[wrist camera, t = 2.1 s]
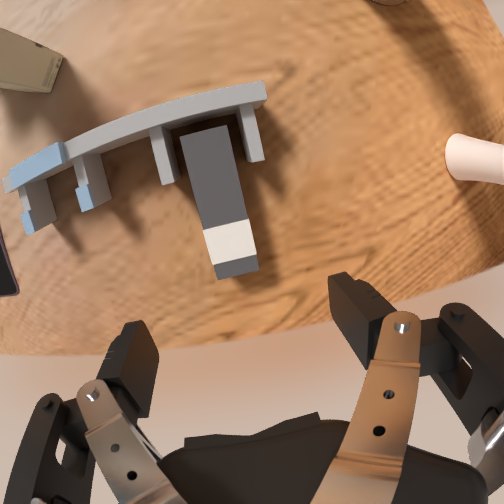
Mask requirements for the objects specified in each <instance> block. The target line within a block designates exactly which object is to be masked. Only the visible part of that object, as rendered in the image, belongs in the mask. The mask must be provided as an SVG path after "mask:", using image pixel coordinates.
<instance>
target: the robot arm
mask: <svg viewBox="0 0 504 504" xmlns="http://www.w3.org/2000/svg"><path fill="white" fill-rule="evenodd" d="M373 1H375V2H377V3H380V4H384V5H397V4H400V3H402V2H403V1H408V2H410V1H411V0H373ZM328 290H329V302H330V310H331V314H332V317H333V320H334V321H335V323H336V324H337V326H338V327H339V329H340V331H341V332H342V334H343V335H344V337H345V338H346V340H347V341H348V343H349V344H350V346H351V348H352V349H353V351H354V352H355V354H356V355H357V357H358V358H359V360H360V362H361V363H362V365H363V366H364V368H365V370H368V371H367V374H366V378H365V381H364V384H363V387H362V391H361V393H360V396H359V399H358V402H357V405H356V408H355V411H354V413H353V416H352V419H351V421H350V422H348V421H343V420H320V417H319V415H318V412H314V413H311V414H308V415H304V416H301V417H297V418H293V419H290V420H285V421H283V422H281V423H279V424H277V425H274V426H273V427H270V428H268V429H266V430H263V431H261V432H259V433H256V434H254V435H250V436H240V435H220V434H214V435H206V436H198V437H187V438H185V440H184V447H183V448H180V449H178V450H175V451H173V452H171V453H170V454H168V455H166V456H165V457H162V456H161V455H160V453H159V452H158V451H157V450H156V448H155V447H154V446H153V444H152V443H151V442H150V440H149V439H148V438H147V436H146V435H145V434H144V432H143V431H142V430H141V428H140V427H139V426H138V425H137V419H138V418H148V417H149V411H150V405H151V399H152V394H153V389H154V384H155V378H156V373H157V368H158V363H159V353H158V350H157V347H156V345H155V343H154V341H153V339H152V337H151V335H150V333H149V331H148V329H147V327H146V325H145V323H144V322H143V321H142V320H139V321H134V322H128V323H126V324H125V325H124V327H123V330H122V332H121V334H120V335H119V336H117V337H116V338H115V340H114V341H113V342H112V343H111V345H110V347H109V349H108V353H107V354H106V356H105V359H104V361H103V363H102V365H101V368H100V370H99V373H98V375H97V378H96V380H92V381H89V382H87V383H85V384H84V385H83V386H82V387H81V388H80V389H79V391H78V393H77V396H76V398H74V399H71V400H68V401H63V400H62V399H61V398H60V397H59V395H57V394H55V393H50V394H47V395H45V396H44V397H42V398H41V399H40V400H39V401H38V403H37V405H36V406H35V409H34V411H33V414H32V416H31V418H30V421H29V423H28V426H27V428H26V431H25V433H24V436H23V439H22V441H21V444H20V447H19V450H18V453H17V456H16V459H15V462H14V465H13V468H12V472H11V475H10V479H9V482H8V486H7V490H6V494H5V498H4V503H3V504H90V497H91V489H92V481H93V475H94V468H95V462H96V461H97V464H98V466H99V468H100V469H101V472H102V473H103V475H104V477H105V479H106V481H107V483H108V485H109V486H110V488H111V490H112V492H113V493H114V495H115V497H116V498H117V500H118V502H119V503H118V504H488V496H489V495H491V494H492V493H493V492H494V491H496V490H497V489H498V488H499V487H501V486H502V485H503V484H504V338H502V337H501V335H499V334H498V333H497V332H496V331H495V330H494V329H493V328H492V327H491V326H490V325H489V324H488V323H487V322H486V321H484V320H483V319H482V318H481V317H480V316H479V315H478V314H477V313H476V312H474V311H473V310H472V309H471V308H470V307H468V306H467V305H465V304H462V303H449V304H446V305H444V306H443V307H442V308H441V311H440V316H439V318H432V319H426V320H420V319H419V318H418V316H417V315H415V314H413V313H411V312H407V311H397V310H396V309H395V308H394V307H393V306H392V305H391V304H390V303H389V302H388V301H387V300H386V299H385V298H384V297H383V296H381V294H380V293H379V292H378V291H376V290H375V288H374V287H373V286H371V285H370V284H369V283H367V282H365V281H362V280H360V279H358V280H354V279H353V278H352V277H351V276H350V275H349V274H348V273H347V272H341V273H338V274H334V275H331V276H328ZM462 356H463V357H464V358H465V359H466V361H467V362H468V363H469V364H470V365H471V368H472V369H471V368H470V367H469V366H468V365H467V363H466V362H465V361H464V360H463V359H462ZM427 375H430V376H431V377H432V378H433V380H434V381H435V382H436V384H437V385H438V387H439V389H440V390H441V391H442V393H443V394H444V396H445V397H446V398H447V400H448V402H449V403H450V405H451V406H452V408H453V409H454V411H455V412H456V414H457V415H458V417H459V418H460V420H461V421H462V423H463V425H464V426H465V428H466V429H467V431H468V433H469V434H470V436H471V437H470V439H469V442H468V452H469V459H470V461H471V465H469V464H466V463H463V462H460V461H456V460H453V459H449V458H446V457H442V456H440V455H436V454H433V453H430V452H427V451H425V450H422V449H419V448H416V447H413V446H410V445H408V444H407V443H408V439H409V434H410V429H411V425H412V419H413V414H414V409H415V403H416V397H417V390H418V382H419V377H422V376H427ZM59 438H60V439H61V440H62V441H63V442H64V443H65V444H66V448H65V451H64V455H63V460H62V464H61V465H60V464H59V463H58V461H57V459H56V456H55V452H56V448H57V444H58V441H59Z"/></svg>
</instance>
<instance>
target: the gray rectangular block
mask: <svg viewBox="0 0 504 504" xmlns="http://www.w3.org/2000/svg"><path fill="white" fill-rule="evenodd" d="M180 141H181V145H182V149H183V153H184V157H185V162H186V166H187V170H188V174H189V178H190V181H191V185H192V189H193V193H194V197H195V201H196V204H197V208H198V212H199V216H200V219H201V223H202V227H203V233H204V237H205V240H206V244H207V247H208V251H209V254H210V258H211V261H212V265H214V269H215V272H216V276H217V279H218V280H221V279H226V278H230V277H234V276H238V275H242V274H246V273H250V272H254V271H259V270H260V269H259V265H258V260H257V256H256V254H257V253H256V248H255V244H254V239H253V235H252V231H251V226H250V222H249V218H248V216H247V212H246V207H245V203H244V198H243V194H242V190H241V185H240V181H239V177H238V172H237V168H236V163H235V159H234V155H233V150H232V146H231V142H230V137H229V133H228V129H227V125H224V126H220V127H215V128H211V129H207V130H203V131H199V132H195V133H192V134H188V135H184V136H181V137H180Z"/></svg>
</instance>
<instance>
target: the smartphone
mask: <svg viewBox="0 0 504 504" xmlns="http://www.w3.org/2000/svg"><path fill="white" fill-rule="evenodd" d="M18 290H19V289H18V285H17V282H16V279H15V276H14V274H13V271H12V268H11V265H10V262H9V259H8V256H7V252H6V249H5V246H4V242H3V239H2V235H1V231H0V296H7V295H15V294H17V293H18Z"/></svg>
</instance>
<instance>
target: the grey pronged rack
mask: <svg viewBox="0 0 504 504" xmlns="http://www.w3.org/2000/svg"><path fill="white" fill-rule="evenodd" d="M266 100H267V94H266V90H265V86H264V82H263V81H257V82H250V83H245V84H239V85H234V86H229V87H224V88H219V89H214V90H210V91H206V92H202V93H198V94H194V95H190V96H186V97H182V98H179V99H175V100H172V101H168V102H165V103H162V104H159V105H155V106H152V107H149V108H146V109H143V110H140V111H138V112H135V113H132V114H129V115H126V116H124V117H121V118H119V119H116V120H114V121H111V122H109V123H106V124H104V125H101V126H99V127H97V128H94V129H92V130H90V131H88V132H85V133H83V134H81V135H79V136H77V137H75V138H73V139H70V140H68V141H66V142H64V143H63V142H56V143H54V144H52V145H50V146H48V147H47V148H45V149H43V150H41V151H39V152H38V153H36V154H34V155H33V156H31V157H29V158H28V159H26V160H24V161H23V162H21V163H19V164H18V165H16V166H15V167H13V168H12V169H10V170H9V173H10V174H9V175H7V176H6V177H4V178H3V179H2V182H3V186H4V191H5V194H8V193H11V192H14V191H17V190H18V192H19V196H20V199H21V203H22V207H23V210H24V213H23V214H21V215H20V216H21V219H22V222H23V226H24V229H25V232H26V235H29V234H31V233H33V232H36V231H38V230H40V229H41V228H43V227H45V226H47V225H49V224H51V223H52V222H54V221H56V220H58V219H57V216H56V213H55V209H54V206H53V203H52V199H51V196H50V192H49V188H48V184H47V180H46V179H47V178H49V177H51V176H53V175H55V174H57V173H59V172H61V171H63V170H65V169H67V168H69V167H72V166H74V169H75V173H76V177H77V181H78V185H79V188H77V189H75V191H76V194H77V198H78V201H79V204H80V208H81V211H82V212H84V211H87V210H90V209H93V208H96V207H97V206H99V205H101V204H103V203H105V202H107V201H109V200H111V199H112V196H111V193H110V189H109V186H108V182H107V178H106V175H105V171H104V167H103V163H102V159H101V155H100V154H102V153H104V152H107V151H109V150H112V149H115V148H117V147H120V146H123V145H125V144H128V143H131V142H134V141H137V140H139V139H142V138H145V137H148V136H150V139H151V144H152V148H153V152H154V156H155V160H156V164H157V168H158V172H159V176H160V180H161V183H162V185H166V184H169V183H173V182H175V181H177V180H178V179H179V178H181V175H180V171H179V167H178V163H177V159H176V155H175V151H174V147H173V142H172V138H171V134H170V130H171V129H174V128H178V127H181V126H185V125H189V124H192V123H196V122H200V121H204V120H208V119H212V118H216V117H221V116H225V115H230V114H235V113H236V116H237V121H238V125H239V129H240V134H241V138H242V143H243V147H244V151H245V156H246V160H247V161H248V162H257V161H262V160H265V158H264V153H263V149H262V144H261V140H260V135H259V131H258V126H257V122H256V117H255V113H254V110H255V109H258V108H259V107H260V106H261V105H262V104H263V103H264V102H265V101H266Z"/></svg>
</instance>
